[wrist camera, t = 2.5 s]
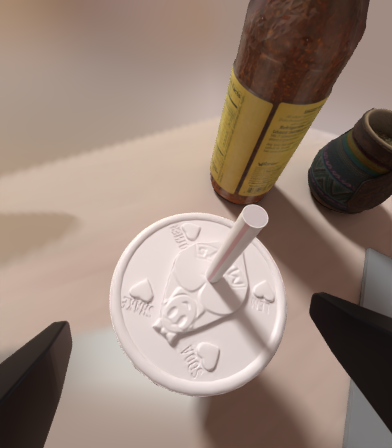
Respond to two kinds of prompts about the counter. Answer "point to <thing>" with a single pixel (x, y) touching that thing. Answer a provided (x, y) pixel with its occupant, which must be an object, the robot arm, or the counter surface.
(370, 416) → the slate board
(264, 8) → the sauce bottle
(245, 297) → the smoothie
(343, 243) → the counter surface
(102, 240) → the counter surface
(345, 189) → the mate gourd
